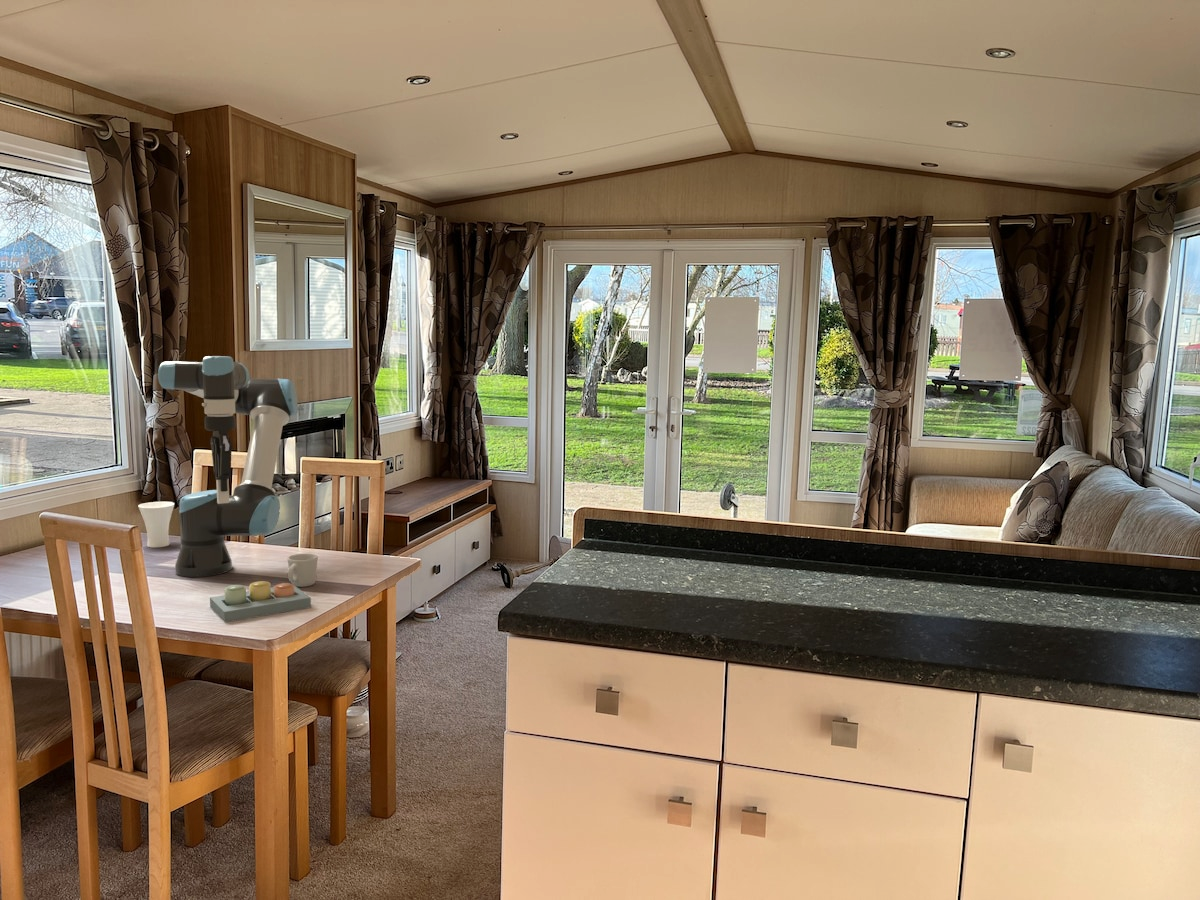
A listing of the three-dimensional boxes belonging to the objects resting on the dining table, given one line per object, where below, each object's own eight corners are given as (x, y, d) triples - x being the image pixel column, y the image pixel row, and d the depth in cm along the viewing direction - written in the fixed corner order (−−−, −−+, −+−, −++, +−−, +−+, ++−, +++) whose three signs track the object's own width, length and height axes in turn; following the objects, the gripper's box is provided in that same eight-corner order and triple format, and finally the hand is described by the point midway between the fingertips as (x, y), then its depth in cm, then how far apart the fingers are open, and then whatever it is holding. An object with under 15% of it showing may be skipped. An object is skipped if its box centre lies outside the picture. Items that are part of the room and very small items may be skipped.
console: (210, 607, 223) (209, 597, 222) (293, 593, 235) (292, 584, 235) (224, 622, 212) (224, 611, 211) (310, 607, 224) (310, 597, 224)
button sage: (222, 602, 220) (222, 586, 219) (243, 598, 223) (242, 583, 222) (228, 607, 216) (227, 591, 216) (248, 603, 219) (248, 587, 219)
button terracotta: (271, 599, 227) (271, 584, 227) (290, 596, 230) (290, 581, 230) (277, 604, 223) (277, 589, 223) (297, 601, 226) (296, 586, 226)
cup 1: (132, 548, 280) (130, 506, 278) (154, 540, 290) (152, 500, 288) (162, 550, 278) (160, 508, 276) (183, 542, 288) (181, 502, 286)
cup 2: (303, 592, 236) (302, 564, 235) (276, 590, 238) (275, 562, 237) (323, 581, 247) (322, 554, 246) (298, 579, 248) (297, 552, 247)
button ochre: (247, 598, 224) (246, 582, 223) (267, 594, 227) (267, 579, 226) (253, 603, 220) (252, 587, 219) (273, 599, 223) (272, 584, 222)
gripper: (198, 413, 233) (202, 500, 236) (210, 417, 223) (214, 508, 226) (228, 412, 237) (231, 497, 240) (241, 416, 227) (244, 505, 230)
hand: (223, 502), depth 233 cm, fingers closed
